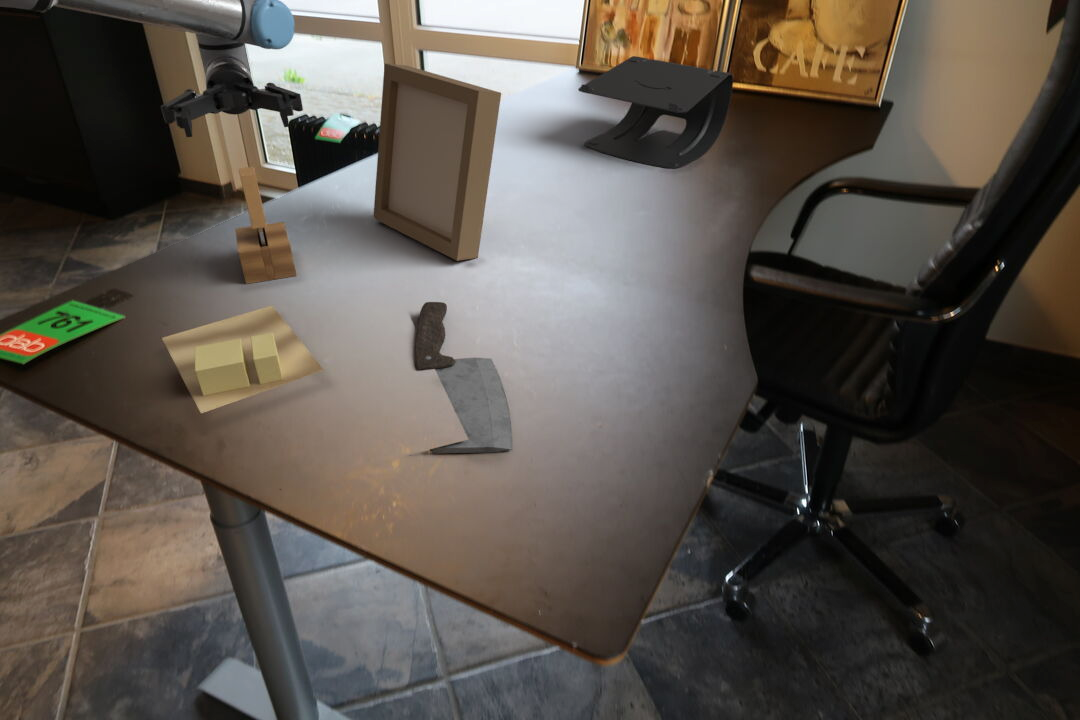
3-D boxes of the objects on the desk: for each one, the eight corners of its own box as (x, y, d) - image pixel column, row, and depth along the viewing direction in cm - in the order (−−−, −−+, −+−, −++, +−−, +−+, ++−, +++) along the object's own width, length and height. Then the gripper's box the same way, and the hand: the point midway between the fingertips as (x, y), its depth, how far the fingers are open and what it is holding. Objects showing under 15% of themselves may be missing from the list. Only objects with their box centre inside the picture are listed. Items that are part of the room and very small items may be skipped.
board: (164, 347, 89) (161, 337, 88) (274, 314, 96) (272, 305, 95) (204, 423, 77) (200, 413, 76) (326, 379, 84) (324, 369, 83)
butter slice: (256, 360, 84) (250, 336, 82) (278, 356, 85) (272, 332, 83) (260, 384, 80) (253, 359, 78) (282, 379, 81) (276, 355, 79)
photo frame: (457, 266, 108) (447, 98, 93) (373, 223, 120) (353, 69, 105) (525, 237, 117) (525, 79, 102) (441, 199, 129) (431, 54, 114)
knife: (260, 259, 109) (238, 164, 100) (274, 257, 109) (253, 163, 101) (263, 276, 104) (240, 179, 95) (277, 274, 105) (256, 177, 96)
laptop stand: (727, 144, 157) (740, 71, 148) (675, 173, 142) (686, 94, 133) (630, 121, 169) (636, 53, 161) (572, 146, 154) (576, 71, 145)
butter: (202, 371, 82) (194, 346, 80) (247, 362, 84) (240, 338, 82) (203, 396, 79) (194, 371, 77) (250, 386, 80) (243, 361, 78)
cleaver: (406, 315, 96) (405, 302, 94) (477, 307, 98) (477, 294, 96) (429, 465, 73) (427, 450, 71) (521, 451, 74) (521, 436, 73)
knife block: (242, 258, 109) (235, 228, 106) (290, 250, 111) (284, 221, 108) (246, 284, 102) (238, 253, 99) (296, 275, 104) (290, 245, 102)
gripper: (310, 102, 125) (327, 138, 109) (156, 116, 117) (151, 158, 101) (302, 57, 121) (319, 88, 105) (142, 69, 113) (134, 104, 97)
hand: (237, 122), depth 103 cm, fingers open, 13 cm apart
